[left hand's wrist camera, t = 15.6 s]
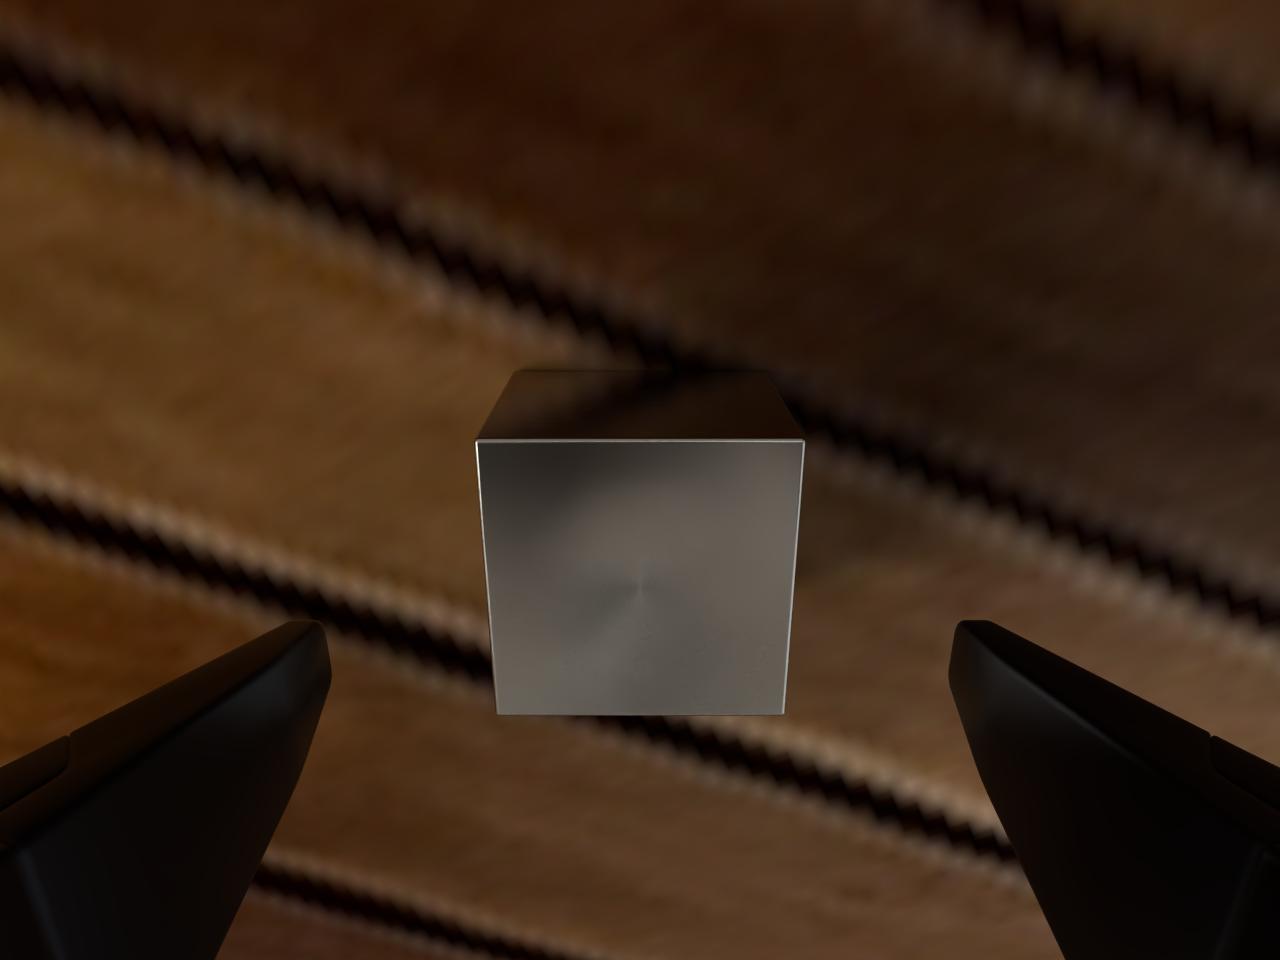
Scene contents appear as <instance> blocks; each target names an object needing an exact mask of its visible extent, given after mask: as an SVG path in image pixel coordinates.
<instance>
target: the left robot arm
mask: <svg viewBox="0 0 1280 960" xmlns="http://www.w3.org/2000/svg"><path fill="white" fill-rule="evenodd" d="M331 676H332V674H331V664H330V658H329V652H328V646H327V640H326V634H325V629H324V627H323V625H322V623H321V622H319V621H317V620H293V621H289V622H287V623H285V624H283V625H281V626H279V627H277V628H275V629H273V630H271V631H269V632H267V633H265V634H263V635H261V636H260V637H258V638H256V639H254V640H252V641H250V642H248V643H246V644H244V645H242V646H240V647H238V648H236V649H234V650H232V651H230V652H228V653H226V654H224V655H222V656H220V657H218V658H216V659H214V660H212V661H210V662H208V663H206V664H205V665H203V666H201V667H199V668H197V669H195V670H193V671H191V672H189V673H187V674H185V675H183V676H181V677H179V678H177V679H175V680H173V681H171V682H169V683H167V684H165V685H163V686H161V687H159V688H157V689H155V690H153V691H151V692H149V693H148V694H146V695H144V696H142V697H140V698H138V699H136V700H134V701H132V702H130V703H128V704H126V705H124V706H122V707H120V708H118V709H116V710H114V711H112V712H110V713H108V714H106V715H104V716H102V717H100V718H98V719H96V720H94V721H92V722H91V723H89V724H87V725H85V726H83V727H81V728H79V729H77V730H75V731H73V732H71V733H70V736H69V737H68V736H63V737H61V738H59V739H57V740H55V741H53V742H51V743H49V744H47V745H45V746H43V747H41V748H39V749H37V750H35V751H33V752H31V753H29V754H27V755H25V756H23V757H21V758H19V759H17V760H15V761H13V762H11V763H9V764H7V765H5V766H3V767H1V768H0V960H215V958H216V956H217V954H218V952H219V949H220V947H221V945H222V943H223V941H224V939H225V937H226V934H227V932H228V930H229V928H230V926H231V924H232V922H233V920H234V917H235V915H236V913H237V911H238V909H239V907H240V905H241V902H242V900H243V898H244V896H245V894H246V892H247V890H248V888H249V885H250V883H251V881H252V879H253V877H254V875H255V873H256V870H257V868H258V866H259V864H260V862H261V860H262V858H263V856H264V853H265V851H266V849H267V847H268V845H269V843H270V841H271V838H272V836H273V834H274V832H275V830H276V828H277V826H278V824H279V821H280V819H281V817H282V815H283V813H284V811H285V809H286V806H287V804H288V802H289V800H290V798H291V796H292V794H293V791H294V789H295V787H296V784H297V782H298V780H299V777H300V775H301V772H302V769H303V767H304V764H305V761H306V758H307V755H308V752H309V749H310V746H311V743H312V740H313V737H314V734H315V731H316V728H317V725H318V722H319V719H320V716H321V713H322V710H323V707H324V703H325V700H326V697H327V694H328V691H329V688H330V684H331ZM948 676H949V684H950V688H951V691H952V694H953V697H954V700H955V703H956V707H957V710H958V713H959V716H960V719H961V722H962V725H963V728H964V731H965V734H966V737H967V740H968V743H969V746H970V749H971V752H972V755H973V758H974V761H975V764H976V767H977V769H978V772H979V775H980V777H981V780H982V782H983V784H984V787H985V789H986V791H987V794H988V796H989V798H990V800H991V802H992V804H993V806H994V809H995V811H996V813H997V815H998V817H999V819H1000V821H1001V824H1002V826H1003V828H1004V830H1005V832H1006V834H1007V836H1008V838H1009V841H1010V843H1011V845H1012V847H1013V849H1014V851H1015V853H1016V856H1017V858H1018V860H1019V862H1020V864H1021V866H1022V868H1023V870H1024V873H1025V875H1026V877H1027V879H1028V881H1029V883H1030V885H1031V888H1032V890H1033V892H1034V894H1035V896H1036V898H1037V900H1038V902H1039V905H1040V907H1041V909H1042V911H1043V913H1044V915H1045V917H1046V920H1047V922H1048V924H1049V926H1050V928H1051V930H1052V932H1053V934H1054V937H1055V939H1056V941H1057V943H1058V945H1059V947H1060V949H1061V952H1062V954H1063V956H1064V958H1065V960H1280V768H1279V767H1277V766H1275V765H1273V764H1271V763H1269V762H1267V761H1265V760H1263V759H1261V758H1259V757H1257V756H1255V755H1253V754H1251V753H1249V752H1247V751H1245V750H1243V749H1241V748H1239V747H1237V746H1235V745H1233V744H1231V743H1229V742H1227V741H1225V740H1223V739H1221V738H1219V737H1217V736H1212V737H1211V736H1210V733H1209V732H1207V731H1205V730H1203V729H1201V728H1199V727H1197V726H1195V725H1193V724H1192V723H1190V722H1188V721H1186V720H1184V719H1182V718H1180V717H1178V716H1176V715H1174V714H1172V713H1170V712H1168V711H1166V710H1164V709H1162V708H1160V707H1158V706H1156V705H1154V704H1152V703H1150V702H1148V701H1146V700H1144V699H1142V698H1140V697H1138V696H1136V695H1134V694H1132V693H1131V692H1129V691H1127V690H1125V689H1123V688H1121V687H1119V686H1117V685H1115V684H1113V683H1111V682H1109V681H1107V680H1105V679H1103V678H1101V677H1099V676H1097V675H1095V674H1093V673H1091V672H1089V671H1087V670H1085V669H1083V668H1081V667H1079V666H1077V665H1076V664H1074V663H1072V662H1070V661H1068V660H1066V659H1064V658H1062V657H1060V656H1058V655H1056V654H1054V653H1052V652H1050V651H1048V650H1046V649H1044V648H1042V647H1040V646H1038V645H1036V644H1034V643H1032V642H1030V641H1028V640H1026V639H1024V638H1022V637H1020V636H1019V635H1017V634H1015V633H1013V632H1011V631H1009V630H1007V629H1005V628H1003V627H1001V626H999V625H997V624H995V623H993V622H991V621H987V620H963V621H961V622H959V623H958V625H957V627H956V629H955V634H954V640H953V646H952V652H951V658H950V664H949V674H948Z"/></svg>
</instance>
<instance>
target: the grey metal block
mask: <svg viewBox="0 0 1280 960" xmlns="http://www.w3.org/2000/svg"><path fill="white" fill-rule="evenodd" d="M474 447H475V459H476V472H477V484H478V497H479V510H480V522H481V535H482V547H483V560H484V573H485V585H486V598H487V610H488V623H489V635H490V648H491V661H492V673H493V686H494V698H495V711H496V714H497V715H499V716H781V715H784V713H785V705H786V693H787V680H788V667H789V654H790V641H791V628H792V615H793V602H794V589H795V576H796V563H797V550H798V538H799V525H800V512H801V499H802V486H803V473H804V460H805V447H806V441H805V438H804V436H803V435H802V433H801V431H800V429H799V428H798V426H797V424H796V422H795V421H794V419H793V417H792V415H791V414H790V412H789V410H788V409H787V407H786V405H785V403H784V402H783V400H782V398H781V396H780V395H779V393H778V391H777V389H776V388H775V386H774V384H773V382H772V381H771V379H770V377H769V375H768V374H767V372H765V371H516V372H514V373H513V375H512V376H511V378H510V380H509V381H508V383H507V385H506V387H505V388H504V390H503V392H502V394H501V395H500V397H499V399H498V400H497V402H496V404H495V406H494V407H493V409H492V411H491V412H490V414H489V416H488V418H487V419H486V421H485V423H484V425H483V426H482V428H481V430H480V431H479V433H478V435H477V437H476V438H475V441H474Z"/></svg>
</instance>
